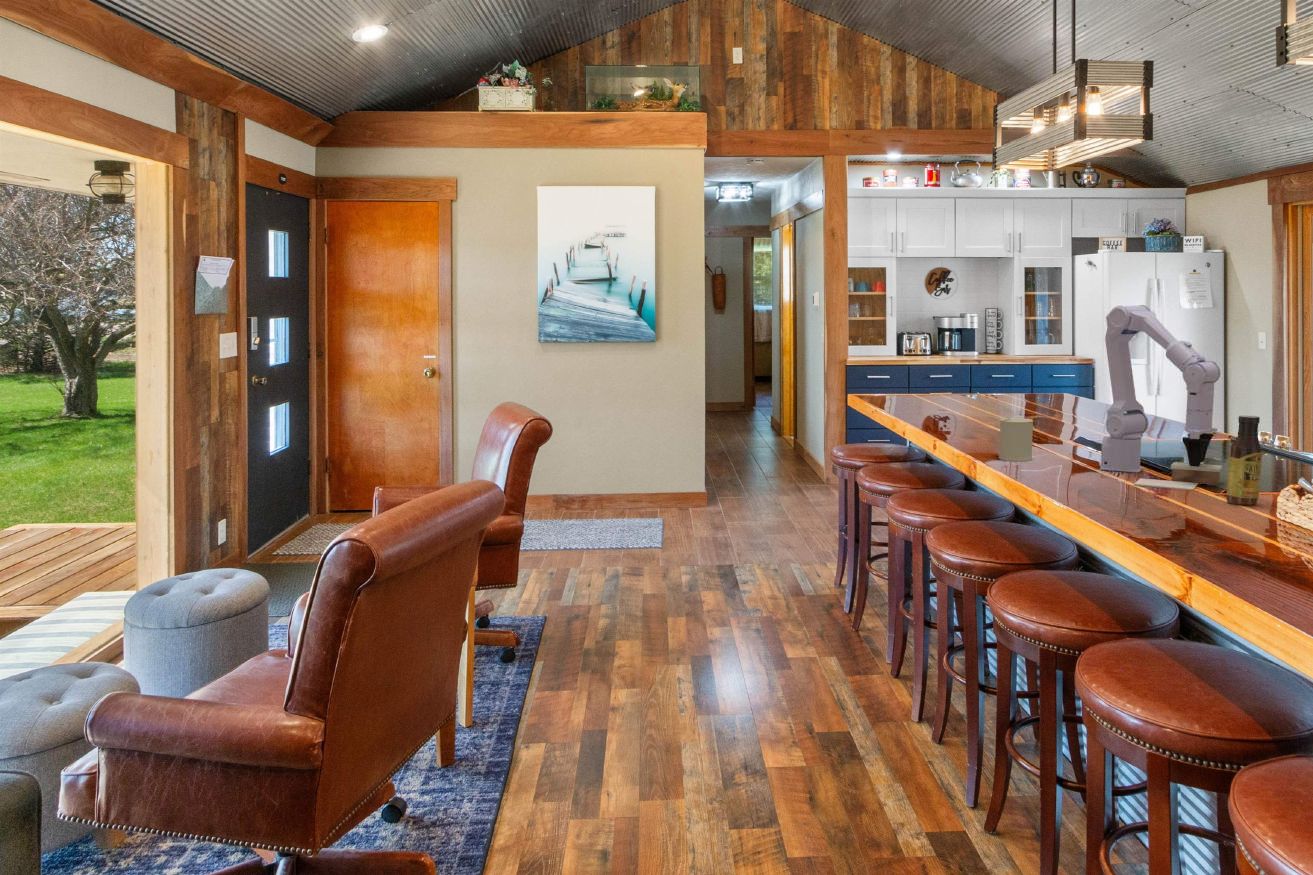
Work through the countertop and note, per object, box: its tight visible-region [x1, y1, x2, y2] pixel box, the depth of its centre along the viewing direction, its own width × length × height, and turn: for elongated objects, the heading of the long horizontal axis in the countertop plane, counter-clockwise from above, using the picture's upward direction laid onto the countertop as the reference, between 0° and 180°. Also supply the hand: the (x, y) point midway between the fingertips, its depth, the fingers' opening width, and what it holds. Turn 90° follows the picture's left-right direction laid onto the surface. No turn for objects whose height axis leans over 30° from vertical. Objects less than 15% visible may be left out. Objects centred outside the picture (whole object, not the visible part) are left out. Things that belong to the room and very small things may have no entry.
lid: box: [1170, 461, 1223, 473], centre depth 240 cm, size 11×6×1 cm, turn 54°
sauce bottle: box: [1226, 415, 1263, 506], centre depth 214 cm, size 6×6×20 cm
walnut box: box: [1170, 469, 1221, 486], centre depth 240 cm, size 10×5×4 cm, turn 54°
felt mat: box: [1133, 477, 1199, 492], centre depth 237 cm, size 13×8×1 cm, turn 54°
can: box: [998, 417, 1034, 462], centre depth 279 cm, size 9×9×12 cm
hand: (1196, 464), depth 239 cm, fingers open, 7 cm apart
